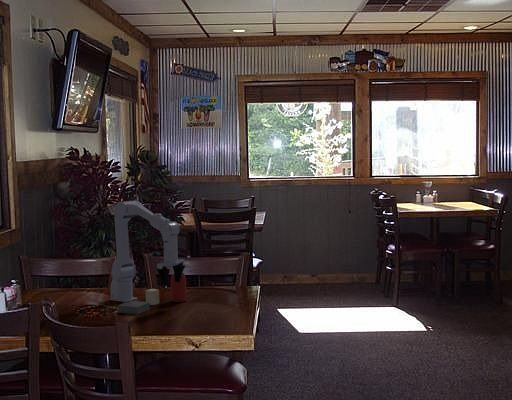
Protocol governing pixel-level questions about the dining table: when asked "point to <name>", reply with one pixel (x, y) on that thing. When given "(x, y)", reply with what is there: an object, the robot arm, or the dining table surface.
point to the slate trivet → (134, 307)
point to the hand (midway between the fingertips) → (171, 283)
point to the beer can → (178, 289)
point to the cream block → (152, 296)
